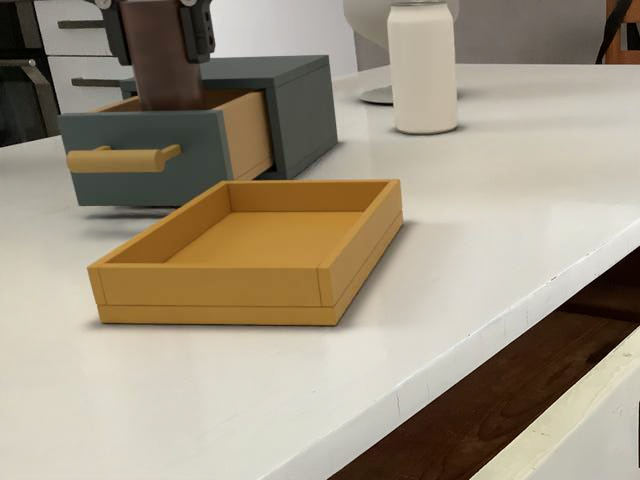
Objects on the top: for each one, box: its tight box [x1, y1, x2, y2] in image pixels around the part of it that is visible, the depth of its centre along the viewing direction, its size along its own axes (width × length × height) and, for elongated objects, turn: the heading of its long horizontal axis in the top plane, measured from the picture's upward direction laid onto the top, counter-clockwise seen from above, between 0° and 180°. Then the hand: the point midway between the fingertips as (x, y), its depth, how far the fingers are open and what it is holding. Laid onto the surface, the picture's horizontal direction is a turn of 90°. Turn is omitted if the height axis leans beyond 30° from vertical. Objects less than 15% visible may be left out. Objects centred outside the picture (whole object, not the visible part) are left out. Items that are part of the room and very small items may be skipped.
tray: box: [86, 178, 404, 326], centre depth 49 cm, size 12×17×3 cm
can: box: [387, 1, 459, 135], centre depth 84 cm, size 6×6×12 cm
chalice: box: [342, 0, 461, 104], centre depth 103 cm, size 14×14×15 cm
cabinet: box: [118, 54, 339, 181], centre depth 74 cm, size 16×13×8 cm
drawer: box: [56, 88, 276, 207], centre depth 63 cm, size 19×11×6 cm, turn 174°
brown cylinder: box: [119, 0, 207, 112], centre depth 62 cm, size 5×5×12 cm
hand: (165, 62), depth 61 cm, fingers closed on brown cylinder, 4 cm apart
